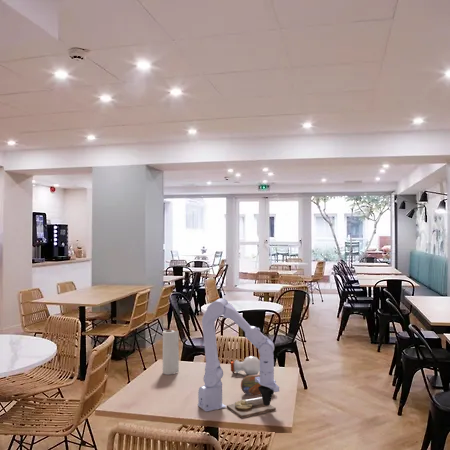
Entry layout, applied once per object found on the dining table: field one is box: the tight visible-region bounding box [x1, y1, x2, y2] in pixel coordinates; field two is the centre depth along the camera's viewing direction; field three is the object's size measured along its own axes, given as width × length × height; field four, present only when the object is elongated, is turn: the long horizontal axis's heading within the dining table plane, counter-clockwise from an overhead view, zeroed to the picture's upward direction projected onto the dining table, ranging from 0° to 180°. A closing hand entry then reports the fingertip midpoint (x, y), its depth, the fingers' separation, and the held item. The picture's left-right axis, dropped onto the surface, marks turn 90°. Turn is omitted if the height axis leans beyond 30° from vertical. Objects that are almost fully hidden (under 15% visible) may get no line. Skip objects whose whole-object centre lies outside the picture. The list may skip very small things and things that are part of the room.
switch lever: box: [234, 396, 263, 410], centre depth 191 cm, size 14×7×2 cm, turn 114°
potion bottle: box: [230, 355, 260, 376], centre depth 236 cm, size 9×10×15 cm
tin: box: [240, 373, 261, 397], centre depth 208 cm, size 15×3×8 cm, turn 105°
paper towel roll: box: [162, 329, 180, 375], centre depth 238 cm, size 7×6×21 cm
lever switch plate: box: [226, 403, 277, 419], centre depth 190 cm, size 16×12×1 cm
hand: (266, 404), depth 189 cm, fingers closed
